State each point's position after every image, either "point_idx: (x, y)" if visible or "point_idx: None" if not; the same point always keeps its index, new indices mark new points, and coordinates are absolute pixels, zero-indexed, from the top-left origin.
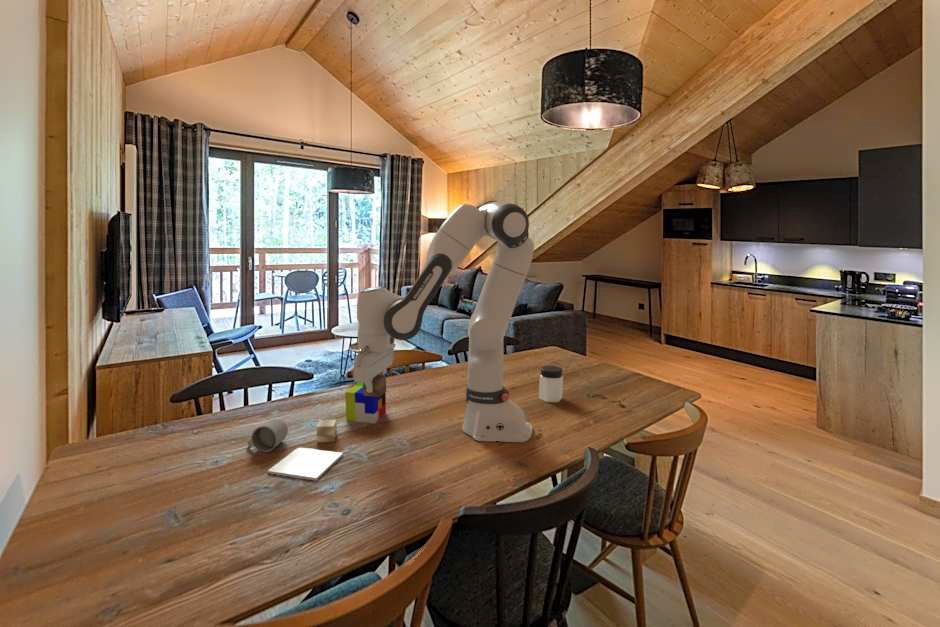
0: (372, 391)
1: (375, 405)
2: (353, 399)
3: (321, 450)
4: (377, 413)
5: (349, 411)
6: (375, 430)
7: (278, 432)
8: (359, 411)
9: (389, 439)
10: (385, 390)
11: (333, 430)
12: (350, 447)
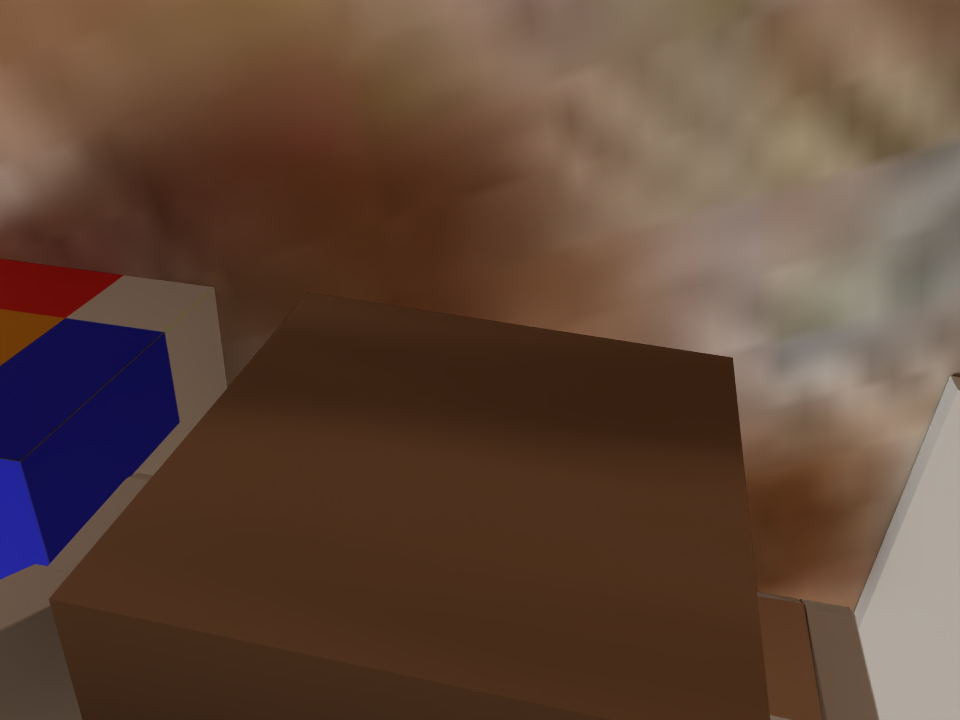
0: (824, 607)
1: (79, 368)
2: None
3: (892, 561)
4: (100, 308)
5: None
6: (357, 234)
7: None
8: None
9: (535, 19)
10: (343, 318)
11: None
12: (764, 357)
